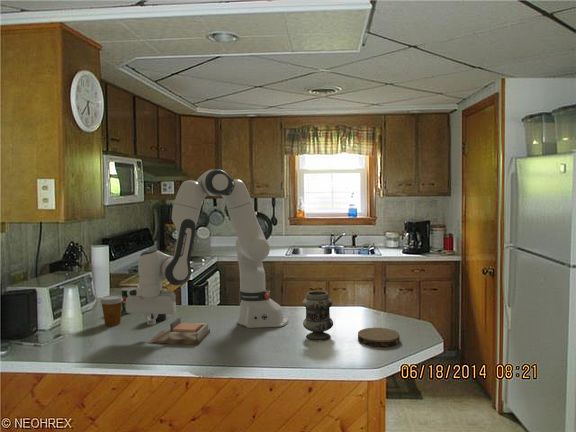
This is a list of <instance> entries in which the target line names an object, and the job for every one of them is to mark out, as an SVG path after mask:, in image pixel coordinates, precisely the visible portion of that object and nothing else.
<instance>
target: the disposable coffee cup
mask: <svg viewBox="0 0 576 432" xmlns="http://www.w3.org/2000/svg"><path fill="white" fill-rule="evenodd" d="M122 301H123V298H122V294H121V295H118V294H111V295H105V296H102V297H101V298H100V304H101V307H102V314H103V319H104V324H105V326H107V327H113V326H118V325H120V324H121V317H122Z"/></svg>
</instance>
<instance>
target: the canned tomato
mask: <svg viewBox="0 0 576 432" xmlns="http://www.w3.org/2000/svg"><path fill="white" fill-rule="evenodd" d="M135 287H136V286H125V287H122V288H121V291H120V292H121V296H122V298H123V301H122V309H121V313H123V314H124V313H125V314H126V313H127V312H126V298H127V297H128V295H127V291H128V290H130V289H132V288H135ZM127 314H128V313H127Z"/></svg>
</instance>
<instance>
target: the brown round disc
mask: <svg viewBox="0 0 576 432" xmlns="http://www.w3.org/2000/svg"><path fill="white" fill-rule="evenodd" d="M357 342H358V343H359V344H361V345H363V346H367V347H370V348H383V349H384V348H393V347H396V346H398V345H399V344H400V343H401V342H400V333H399V332H398V331H396V330H393V329H390V328H386V327H366V328H363V329H360V330H359V331H358V332H357Z"/></svg>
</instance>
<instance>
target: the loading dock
mask: <svg viewBox="0 0 576 432" xmlns="http://www.w3.org/2000/svg"><path fill="white" fill-rule="evenodd" d="M194 324H202V328H201V329H200V330H199V331H198V332H197V333H190V332H170V329H168V330H167V329H166V330H161V331H159V333H158V334H156V335H155V336H153V337H152V338H151V339H149V340H148V342H146V344H165V343H166V344H168V345H169V344H171V345H197V346H199V345H200V344H201V343H202V342H203V341H204V340H205V339H206V338H207V337H208V335H209V334H210V333H211V329H210V328H209V323H201V322H200V323H194Z"/></svg>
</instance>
